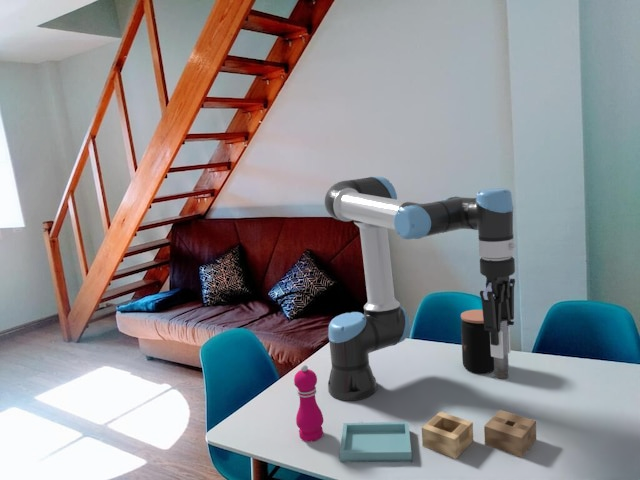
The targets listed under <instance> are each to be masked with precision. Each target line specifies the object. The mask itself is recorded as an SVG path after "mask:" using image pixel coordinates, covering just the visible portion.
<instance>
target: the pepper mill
mask: <svg viewBox="0 0 640 480" xmlns="http://www.w3.org/2000/svg"><path fill="white" fill-rule="evenodd" d="M317 383H318V377H317V374H316V372H315V371H313V370H312V369H309V368H308V366H307V364H302V365H301V366H300V370H298V371H297V372H296V373H295V374H294V378H293V384H294V386H295V387H296V388H297V389H296V391H297V393H296V394H297V396H299V407H298V410H297V413H296V418H295V421H296V422H295V424H296V426H297V427H298V428H299V430H298V432H299V434H298V435H299V438H300V439H301V440H302V441H303V440H304V442H311V441H312V442H316V441H318V440H320V439H322V437H323V434H324V433H323V432H324V431H323V424H324V416H323V412H322V410H321V409H320V407H319V404H318V403H317V400H316V394H317V387H316V385H317ZM312 442H311V443H312Z"/></svg>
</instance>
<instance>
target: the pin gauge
mask: <svg viewBox="0 0 640 480" xmlns="http://www.w3.org/2000/svg"><path fill="white" fill-rule="evenodd" d="M500 331H502V333H503V358H502V359H501V358H496V357H494V371H493V372H494V378H495V379H497V380H500V381H506V380H508V379H510V368H509V365H510V364H509V353H508V335H507V320H506V319H502V318H501V324H500Z"/></svg>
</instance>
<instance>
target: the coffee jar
mask: <svg viewBox="0 0 640 480" xmlns="http://www.w3.org/2000/svg"><path fill="white" fill-rule="evenodd" d="M460 318H461V321H460V329H461V333H460V334H461V354H462V355H461V357H462V358H461V359H462V365H463V368H465V370H466V371H468V372H470V373H473V374H476V375H477V374H479V375H485V374H490V373H492V372H494V357H492V356H491V347H490V331H486V330H484V320H483V309H470V310H465V311H463V312H461V314H460Z"/></svg>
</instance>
